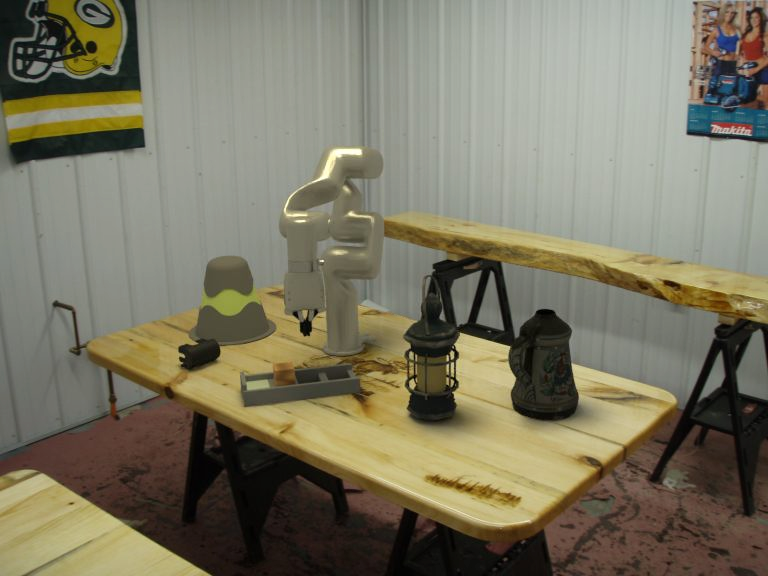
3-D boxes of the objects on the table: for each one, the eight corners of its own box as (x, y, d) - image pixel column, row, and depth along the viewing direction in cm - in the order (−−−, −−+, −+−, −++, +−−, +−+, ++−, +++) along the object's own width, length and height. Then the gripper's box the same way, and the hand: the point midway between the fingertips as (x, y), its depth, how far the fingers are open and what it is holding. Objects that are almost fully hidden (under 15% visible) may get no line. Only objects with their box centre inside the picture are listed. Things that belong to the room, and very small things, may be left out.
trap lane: (351, 376, 215) (351, 357, 213) (360, 392, 204) (359, 373, 203) (241, 389, 208) (239, 370, 206) (244, 406, 198) (242, 386, 196)
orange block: (292, 379, 207) (291, 361, 206) (295, 386, 203) (294, 368, 201) (273, 381, 206) (272, 363, 205) (276, 388, 202) (275, 370, 200)
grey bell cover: (170, 335, 250) (162, 262, 243) (233, 311, 272) (228, 244, 265) (232, 352, 235) (226, 275, 228) (293, 325, 256) (289, 254, 250)
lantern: (452, 430, 183) (453, 286, 173) (397, 423, 187) (395, 283, 177) (464, 404, 196) (465, 270, 186) (413, 399, 200) (411, 267, 190)
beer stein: (583, 398, 198) (589, 304, 191) (568, 431, 181) (573, 329, 174) (519, 388, 205) (522, 297, 198) (499, 419, 188) (501, 321, 181)
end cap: (193, 373, 220) (191, 350, 218) (178, 367, 224) (176, 345, 222) (222, 362, 227) (220, 340, 225) (206, 356, 231) (204, 335, 229)
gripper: (329, 260, 202) (332, 327, 207) (271, 264, 199) (275, 333, 203) (335, 267, 195) (337, 336, 200) (275, 271, 192) (278, 342, 196)
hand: (306, 334), depth 202 cm, fingers closed
